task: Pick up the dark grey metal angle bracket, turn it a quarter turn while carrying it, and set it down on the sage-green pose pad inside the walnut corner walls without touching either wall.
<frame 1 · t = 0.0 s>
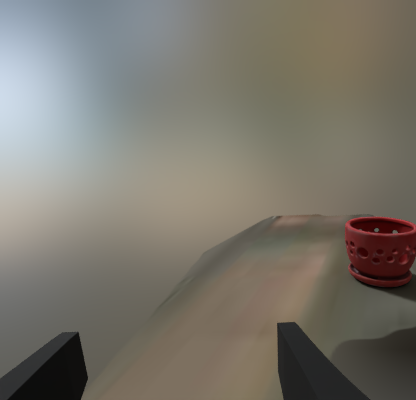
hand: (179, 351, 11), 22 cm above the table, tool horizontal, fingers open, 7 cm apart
plant pot: (379, 279, 63), on the table
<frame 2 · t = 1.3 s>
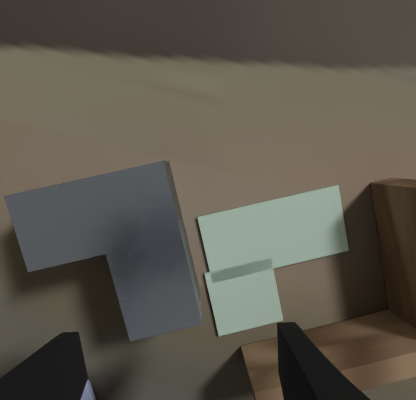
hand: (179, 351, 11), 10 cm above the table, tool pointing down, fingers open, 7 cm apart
pose pad: (274, 233, 21), on the table
bracket: (155, 232, 21), on the table
arena: (311, 280, 22), on the table
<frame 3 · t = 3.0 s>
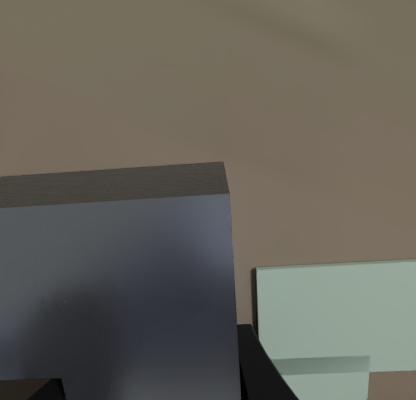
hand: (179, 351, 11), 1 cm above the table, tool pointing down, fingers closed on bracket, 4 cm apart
pose pad: (385, 316, 12), on the table
bracket: (178, 280, 12), on the table, touching gripper
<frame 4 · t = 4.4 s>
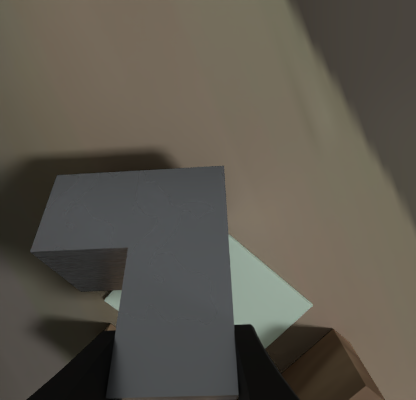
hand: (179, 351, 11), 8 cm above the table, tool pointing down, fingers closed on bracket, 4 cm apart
pose pad: (230, 282, 19), on the table
bracket: (191, 296, 16), point 4 cm above the table, tilted 49°, touching gripper, pose pad
arena: (213, 339, 20), on the table
when the fingers open (5 cm above the table, at t = 5.5 s): bracket stays where it is, resting on arena, pose pad.
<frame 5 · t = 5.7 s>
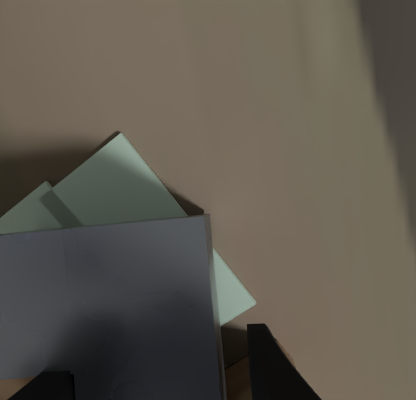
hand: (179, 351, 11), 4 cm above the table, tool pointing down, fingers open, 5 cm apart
pose pad: (153, 252, 14), on the table
bracket: (174, 319, 13), point 1 cm above the table, tilted 17°, touching arena, gripper, pose pad
arena: (116, 325, 15), on the table
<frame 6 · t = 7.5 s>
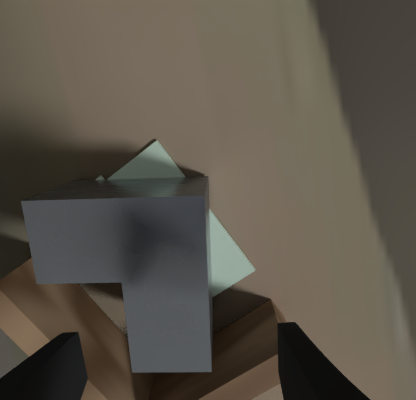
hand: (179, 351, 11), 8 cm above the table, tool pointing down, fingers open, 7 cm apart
pose pad: (177, 229, 19), on the table
bracket: (178, 248, 19), resting on pose pad
arena: (148, 286, 20), on the table
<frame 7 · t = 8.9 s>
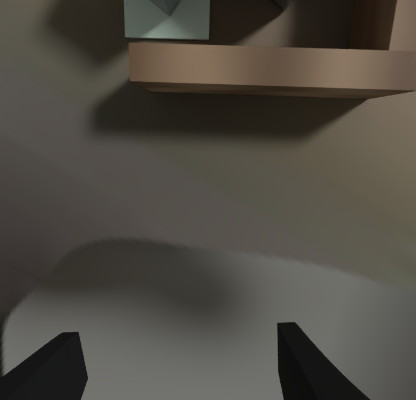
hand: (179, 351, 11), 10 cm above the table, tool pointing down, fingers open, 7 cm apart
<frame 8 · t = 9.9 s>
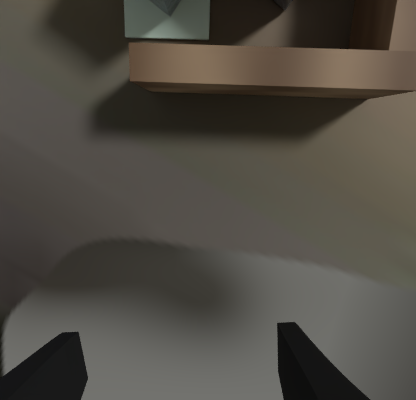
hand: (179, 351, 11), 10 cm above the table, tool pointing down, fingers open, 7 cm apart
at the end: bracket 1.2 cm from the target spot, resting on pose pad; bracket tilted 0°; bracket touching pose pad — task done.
